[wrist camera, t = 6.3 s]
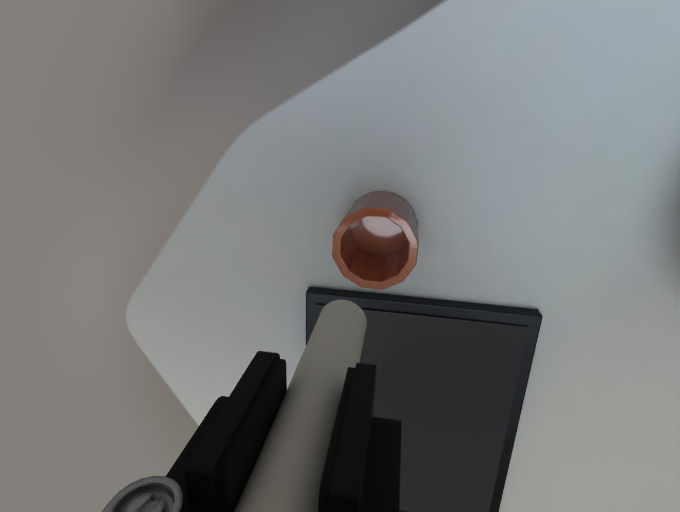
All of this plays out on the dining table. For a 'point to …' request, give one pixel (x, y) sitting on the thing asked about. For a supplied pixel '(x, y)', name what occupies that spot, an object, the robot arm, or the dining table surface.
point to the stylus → (306, 416)
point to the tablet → (445, 390)
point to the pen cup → (377, 241)
